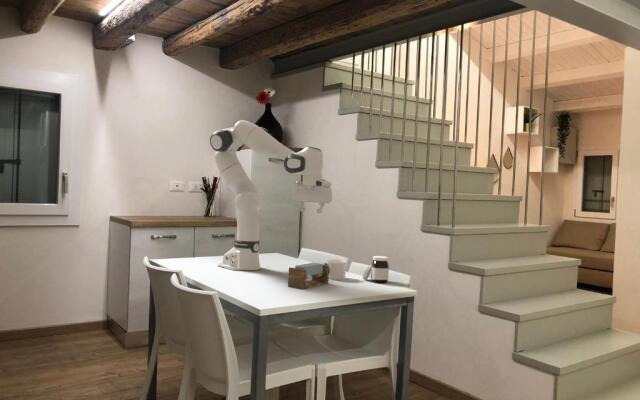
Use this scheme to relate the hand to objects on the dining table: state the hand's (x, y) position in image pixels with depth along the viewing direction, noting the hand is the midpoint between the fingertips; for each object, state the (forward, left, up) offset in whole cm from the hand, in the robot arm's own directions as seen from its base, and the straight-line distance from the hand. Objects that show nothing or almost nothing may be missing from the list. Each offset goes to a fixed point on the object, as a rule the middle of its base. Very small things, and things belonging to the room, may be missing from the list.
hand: (310, 212), depth 242 cm
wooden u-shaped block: (+9, -12, -31) cm, 34 cm away
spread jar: (+25, +19, -31) cm, 44 cm away
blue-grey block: (+9, -12, -26) cm, 30 cm away
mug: (+6, +12, -31) cm, 34 cm away
